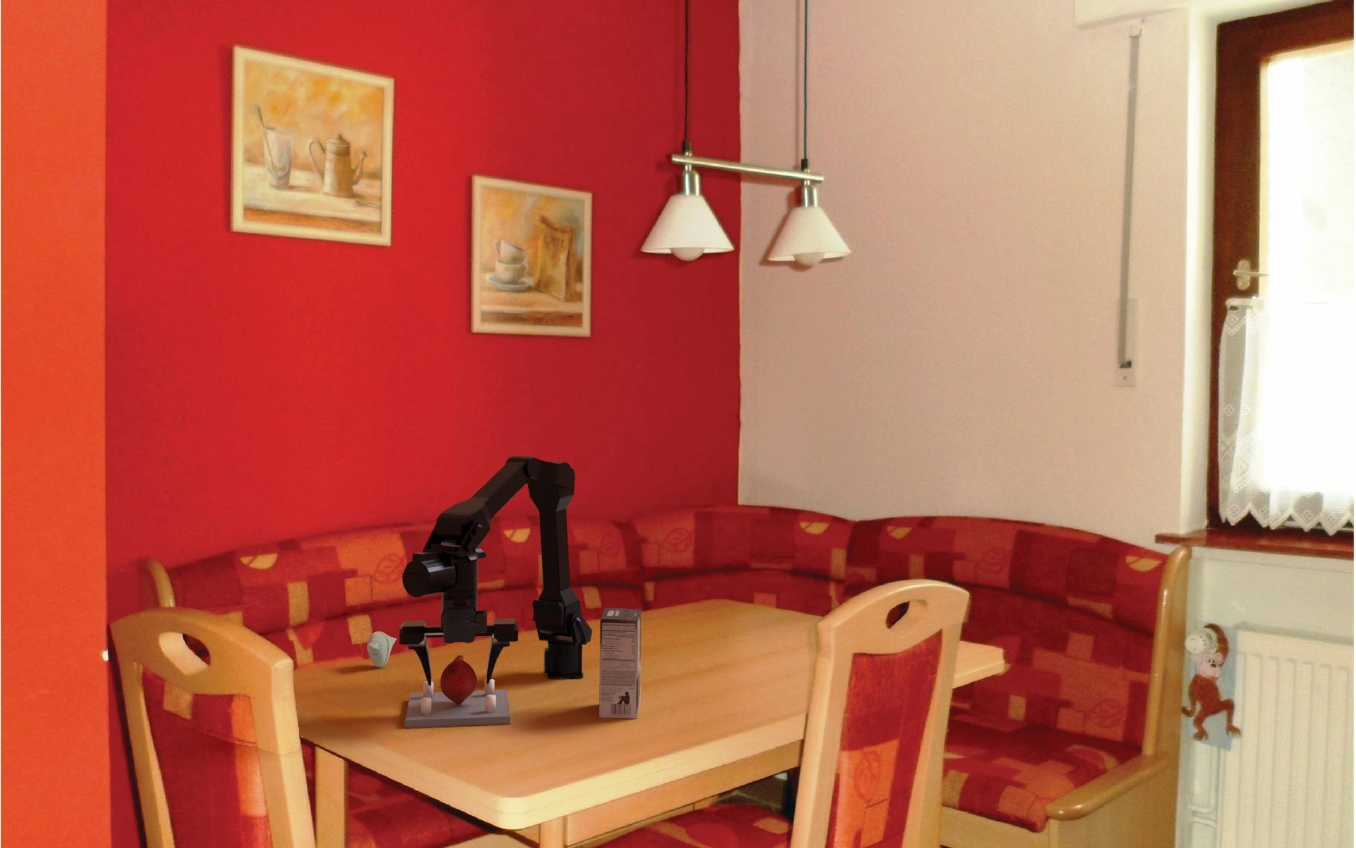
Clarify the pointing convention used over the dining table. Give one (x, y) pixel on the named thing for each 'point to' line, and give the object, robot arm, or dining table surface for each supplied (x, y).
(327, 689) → the dining table surface
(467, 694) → the onion
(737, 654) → the dining table surface
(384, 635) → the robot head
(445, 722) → the plate
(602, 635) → the coffee box
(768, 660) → the dining table surface
